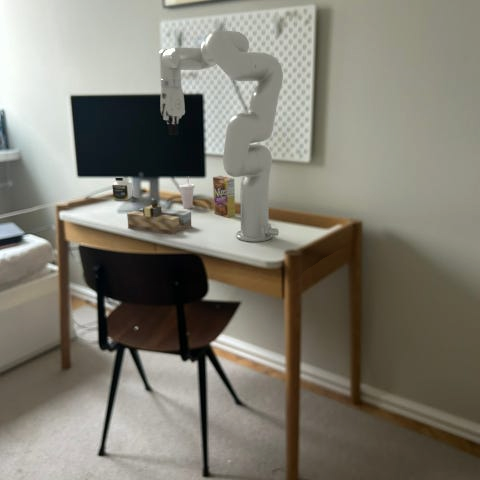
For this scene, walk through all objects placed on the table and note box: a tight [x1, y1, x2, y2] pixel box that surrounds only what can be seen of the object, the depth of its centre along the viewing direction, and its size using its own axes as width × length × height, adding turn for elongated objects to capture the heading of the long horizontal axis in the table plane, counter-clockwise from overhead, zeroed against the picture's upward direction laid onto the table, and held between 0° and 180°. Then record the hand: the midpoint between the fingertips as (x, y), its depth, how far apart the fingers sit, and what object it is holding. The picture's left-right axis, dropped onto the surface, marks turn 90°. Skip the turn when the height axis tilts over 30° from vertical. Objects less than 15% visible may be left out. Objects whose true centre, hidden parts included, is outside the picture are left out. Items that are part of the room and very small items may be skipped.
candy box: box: [212, 175, 236, 218], centre depth 206 cm, size 9×4×15 cm, turn 41°
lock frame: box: [126, 204, 192, 235], centre depth 190 cm, size 20×12×8 cm, turn 63°
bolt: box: [144, 198, 161, 217], centre depth 186 cm, size 2×6×5 cm, turn 153°
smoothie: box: [178, 177, 195, 210], centre depth 218 cm, size 6×6×14 cm
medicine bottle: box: [111, 177, 133, 201], centre depth 237 cm, size 7×7×12 cm
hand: (173, 134), depth 197 cm, fingers closed
